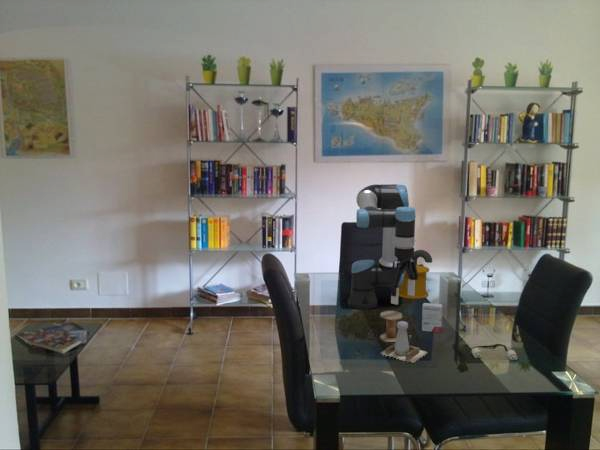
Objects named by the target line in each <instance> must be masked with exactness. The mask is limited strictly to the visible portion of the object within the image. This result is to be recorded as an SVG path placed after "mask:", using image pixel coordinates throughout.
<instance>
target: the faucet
mask: <svg viewBox="0 0 600 450" xmlns="http://www.w3.org/2000/svg"><path fill="white" fill-rule="evenodd" d="M414 257H415V264H416V265H419V266H424V264H422V263H421V264H418V259H419V258H423V260H424V262H425V263H428V264H430V263H431V264H432V262H433V258H432V254H430V253H429V252H428V251H426V250H424V249H417V250H414Z"/></svg>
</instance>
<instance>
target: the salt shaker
mask: <svg viewBox="0 0 600 450" xmlns="http://www.w3.org/2000/svg"><path fill="white" fill-rule="evenodd" d="M408 328H409V323H408V322H407V321H404V320H400V321H396V329H397V331H396V332H397V333H396V334H397V337H396V341H395V343H394V344H395V346H394V349H395V352H396V354H397V355H399V356H405V355H406V354H408V352H409V349H410V348H409V345H410V342H409V338H408V337H409V336H408V331H407V330H408Z"/></svg>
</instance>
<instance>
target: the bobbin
mask: <svg viewBox="0 0 600 450" xmlns="http://www.w3.org/2000/svg"><path fill="white" fill-rule="evenodd" d="M380 317H381V318H382V319H384V320H386V321H385V322H386V323H385V324H386V325H385V326H386V331H385V332H384V333H381V334H380V335H379V339H380V338H381V339H382V340H383V341H382V340H381V339H380V340H381V341H382V342H384V341H386V342H385V343H387V342H395V341H396V337H397V333H396V332H397V321H398V320H401V319H403V314H402V313H401V312H399V311H396V310H384V311H381V312H380Z"/></svg>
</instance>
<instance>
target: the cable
mask: <svg viewBox="0 0 600 450" xmlns="http://www.w3.org/2000/svg"><path fill="white" fill-rule="evenodd" d="M498 346H499V347H503V348H504V350H505V352H506V355H507V357H508V359H509V360H510V361H517V360H518V355H517V353H516V351H515V350H514V349H509V350H508V348H507V345H505V344H501V343H500V344H499V343H495V344H493V345H491V344H490V345H477V346H474V347H472V348H471V349H472V350H471V354H472V355H473V357H474V358H475V359H478V358H479V359H480V358H482V357H483V353H482V352H481V350H480V349H479V348H484V349H485V348H486V349H487V348H495V347H498Z"/></svg>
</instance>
